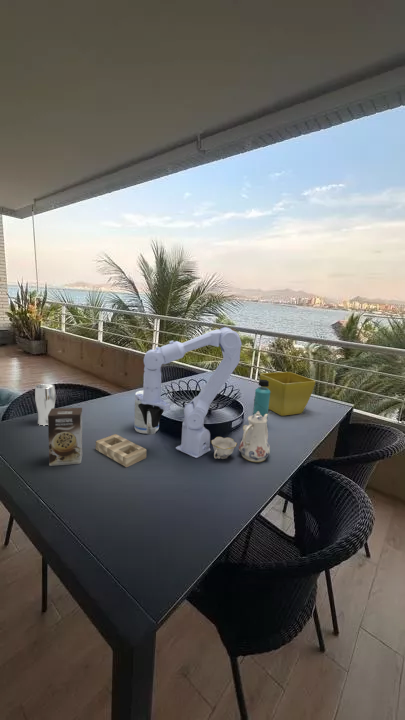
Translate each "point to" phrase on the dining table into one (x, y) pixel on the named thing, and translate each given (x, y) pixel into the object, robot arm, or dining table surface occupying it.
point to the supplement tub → (140, 417)
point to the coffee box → (65, 436)
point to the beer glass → (44, 401)
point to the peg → (150, 424)
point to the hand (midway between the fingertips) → (151, 425)
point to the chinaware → (247, 441)
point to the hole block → (121, 450)
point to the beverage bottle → (262, 398)
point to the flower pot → (288, 392)
